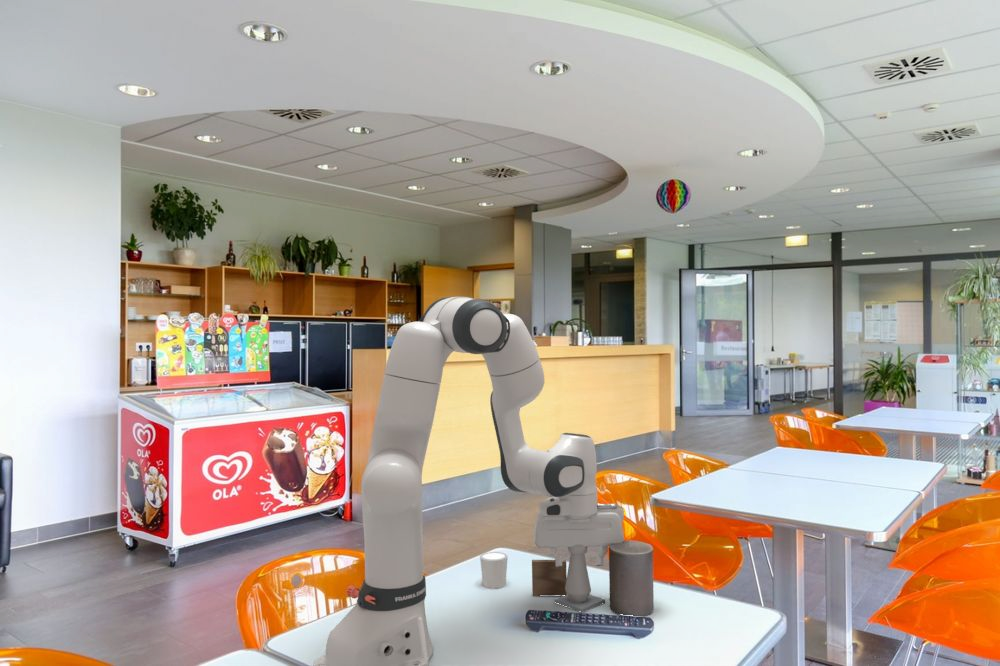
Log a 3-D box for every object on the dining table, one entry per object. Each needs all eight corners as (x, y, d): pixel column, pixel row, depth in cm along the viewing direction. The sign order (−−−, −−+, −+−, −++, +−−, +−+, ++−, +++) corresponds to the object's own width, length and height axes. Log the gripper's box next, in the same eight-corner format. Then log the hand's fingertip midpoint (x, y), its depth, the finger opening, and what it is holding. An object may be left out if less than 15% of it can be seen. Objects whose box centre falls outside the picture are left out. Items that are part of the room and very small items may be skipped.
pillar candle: (601, 605, 153) (599, 538, 153) (636, 597, 157) (635, 532, 157) (626, 621, 144) (625, 550, 144) (663, 612, 148) (662, 543, 148)
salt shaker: (586, 606, 150) (585, 547, 150) (561, 602, 152) (561, 544, 153) (594, 597, 155) (593, 539, 156) (570, 593, 158) (569, 537, 158)
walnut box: (566, 593, 160) (566, 559, 160) (566, 596, 158) (566, 561, 159) (532, 593, 160) (531, 559, 161) (532, 596, 159) (531, 561, 159)
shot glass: (482, 579, 171) (482, 551, 171) (509, 580, 170) (509, 551, 170) (478, 589, 164) (477, 559, 165) (506, 589, 163) (505, 560, 164)
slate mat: (582, 612, 148) (582, 609, 148) (554, 603, 154) (554, 599, 154) (605, 602, 154) (605, 599, 154) (577, 593, 160) (577, 590, 160)
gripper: (620, 500, 158) (622, 560, 158) (532, 502, 157) (533, 562, 157) (626, 506, 152) (627, 569, 151) (534, 508, 151) (535, 571, 151)
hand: (579, 565), depth 154 cm, fingers open, 8 cm apart
